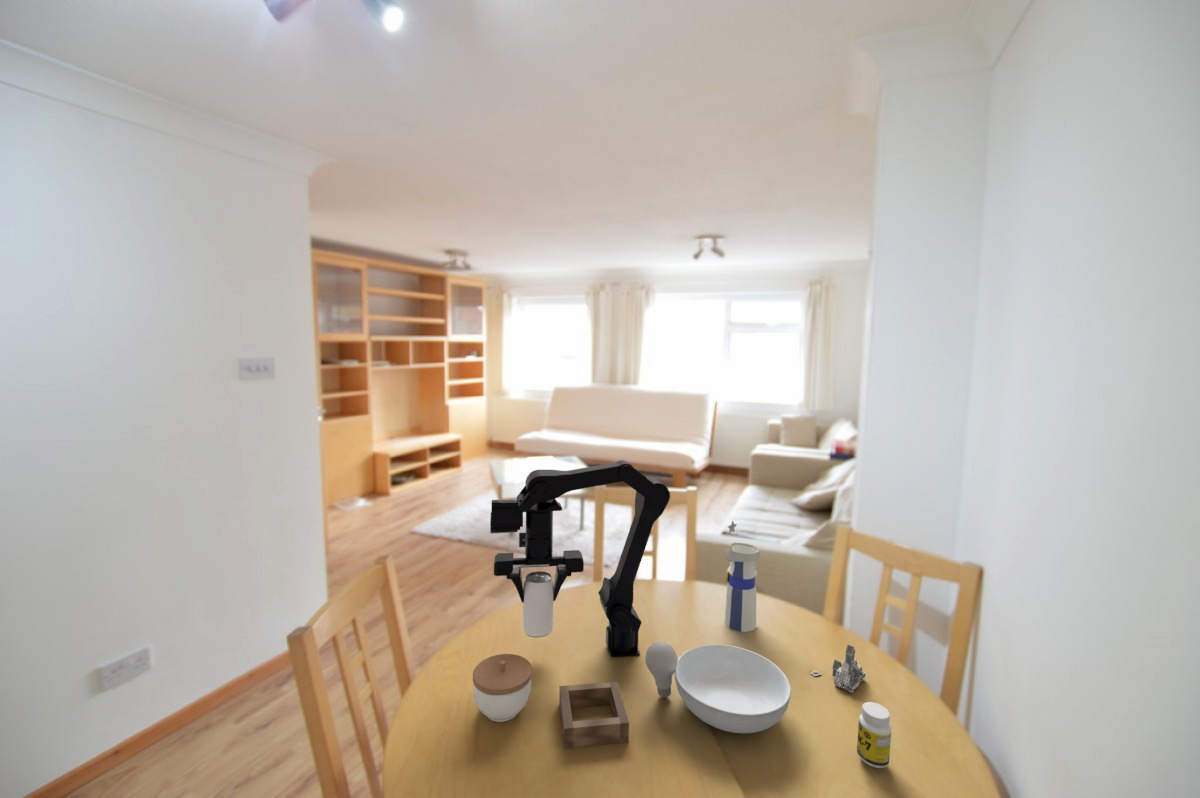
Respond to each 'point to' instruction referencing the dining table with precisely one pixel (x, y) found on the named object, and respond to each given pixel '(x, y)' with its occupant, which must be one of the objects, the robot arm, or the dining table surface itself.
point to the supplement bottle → (874, 735)
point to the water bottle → (741, 586)
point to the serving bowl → (732, 688)
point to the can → (538, 604)
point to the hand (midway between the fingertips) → (538, 600)
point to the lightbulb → (662, 666)
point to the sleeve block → (597, 728)
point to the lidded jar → (502, 686)
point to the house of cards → (847, 671)
